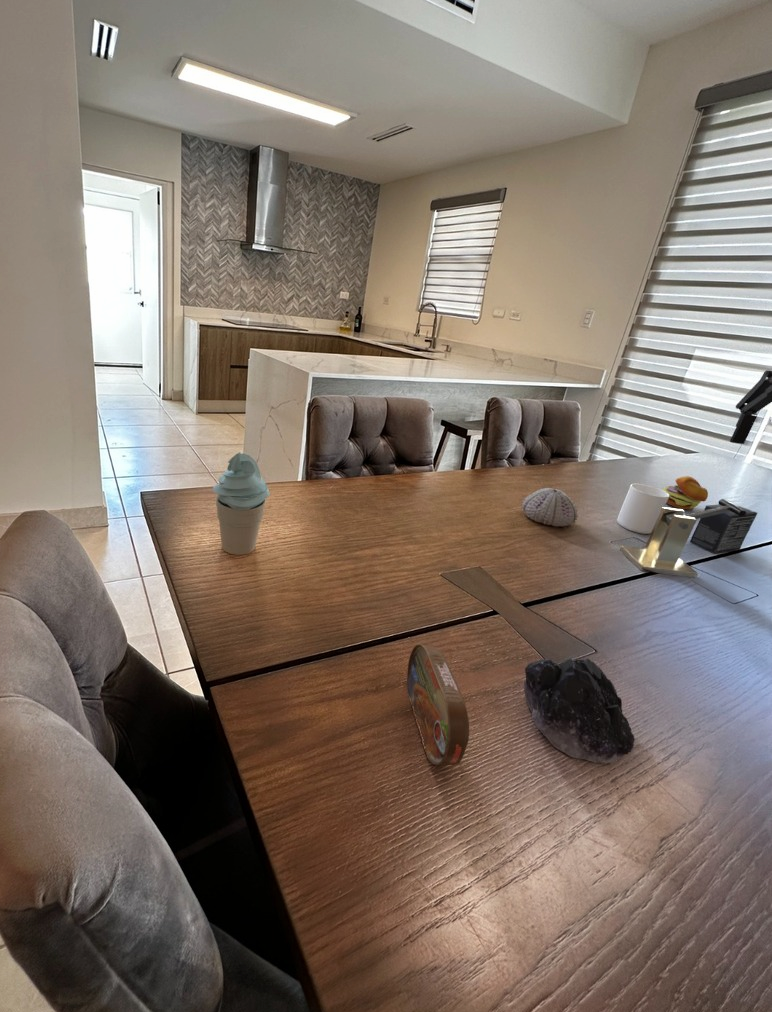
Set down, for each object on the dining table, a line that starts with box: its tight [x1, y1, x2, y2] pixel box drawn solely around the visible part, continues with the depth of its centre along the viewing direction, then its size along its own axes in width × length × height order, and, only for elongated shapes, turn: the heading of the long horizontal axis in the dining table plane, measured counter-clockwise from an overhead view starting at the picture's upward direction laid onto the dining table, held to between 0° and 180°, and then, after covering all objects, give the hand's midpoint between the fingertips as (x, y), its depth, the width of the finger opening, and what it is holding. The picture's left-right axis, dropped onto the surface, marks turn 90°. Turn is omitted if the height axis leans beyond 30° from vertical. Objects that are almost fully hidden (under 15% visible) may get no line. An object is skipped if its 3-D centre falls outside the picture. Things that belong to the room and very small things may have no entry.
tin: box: [406, 644, 470, 766], centre depth 57 cm, size 15×3×8 cm, turn 4°
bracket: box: [619, 506, 699, 579], centre depth 104 cm, size 12×9×13 cm
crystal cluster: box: [523, 657, 635, 764], centre depth 60 cm, size 13×14×10 cm
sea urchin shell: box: [521, 487, 579, 527], centre depth 121 cm, size 13×14×8 cm
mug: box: [617, 483, 669, 535], centre depth 124 cm, size 9×12×11 cm
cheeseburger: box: [661, 475, 709, 510], centre depth 143 cm, size 10×11×10 cm
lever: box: [666, 498, 746, 526], centre depth 101 cm, size 13×6×2 cm, turn 85°
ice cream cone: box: [212, 451, 271, 556], centre depth 89 cm, size 10×11×20 cm
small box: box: [689, 503, 758, 555], centre depth 117 cm, size 11×6×10 cm, turn 111°
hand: (759, 452), depth 102 cm, fingers open, 13 cm apart
